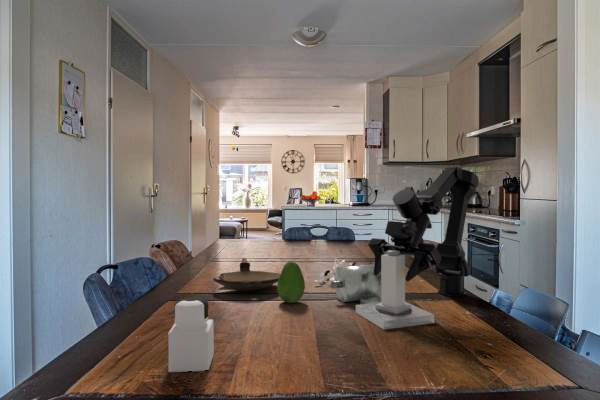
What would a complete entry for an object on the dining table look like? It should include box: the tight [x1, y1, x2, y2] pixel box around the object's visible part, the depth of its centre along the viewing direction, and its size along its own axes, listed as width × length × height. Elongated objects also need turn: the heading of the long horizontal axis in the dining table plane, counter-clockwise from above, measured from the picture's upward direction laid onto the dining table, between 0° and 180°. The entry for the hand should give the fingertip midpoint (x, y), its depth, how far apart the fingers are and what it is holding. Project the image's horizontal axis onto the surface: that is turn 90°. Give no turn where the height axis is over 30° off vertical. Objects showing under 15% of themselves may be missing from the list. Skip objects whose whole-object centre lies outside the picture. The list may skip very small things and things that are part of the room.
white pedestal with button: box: [375, 250, 412, 314], centre depth 101 cm, size 6×6×14 cm
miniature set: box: [313, 258, 357, 287], centre depth 149 cm, size 6×35×12 cm
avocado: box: [276, 260, 306, 304], centre depth 115 cm, size 8×8×12 cm
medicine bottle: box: [167, 296, 215, 373], centre depth 74 cm, size 7×7×12 cm
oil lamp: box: [212, 257, 281, 292], centre depth 133 cm, size 22×30×8 cm
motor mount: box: [330, 263, 435, 331], centre depth 108 cm, size 16×30×10 cm, turn 19°
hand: (390, 277), depth 100 cm, fingers open, 9 cm apart
